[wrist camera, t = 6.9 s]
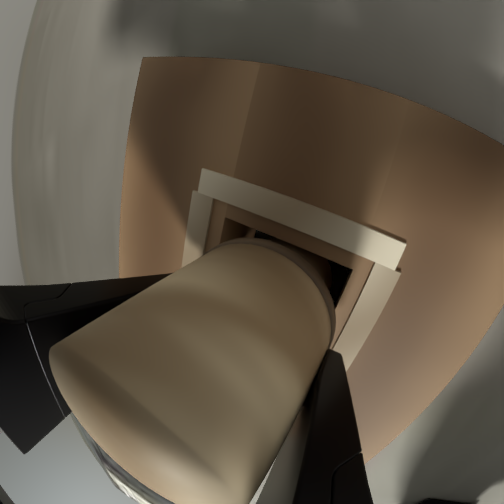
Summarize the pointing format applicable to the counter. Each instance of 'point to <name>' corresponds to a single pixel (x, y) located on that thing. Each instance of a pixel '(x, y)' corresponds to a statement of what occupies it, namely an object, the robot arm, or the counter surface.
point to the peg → (204, 369)
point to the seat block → (327, 211)
